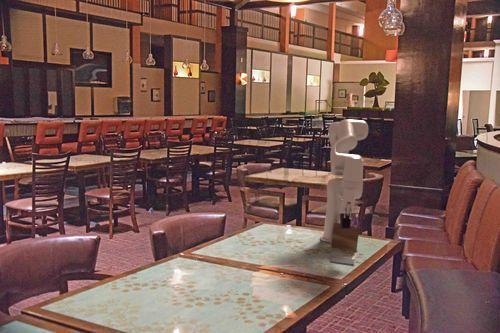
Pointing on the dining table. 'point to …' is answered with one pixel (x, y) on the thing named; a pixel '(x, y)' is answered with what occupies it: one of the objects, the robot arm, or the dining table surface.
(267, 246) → the dining table surface
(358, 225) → the pink radish toy
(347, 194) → the robot arm
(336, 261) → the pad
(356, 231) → the screen
